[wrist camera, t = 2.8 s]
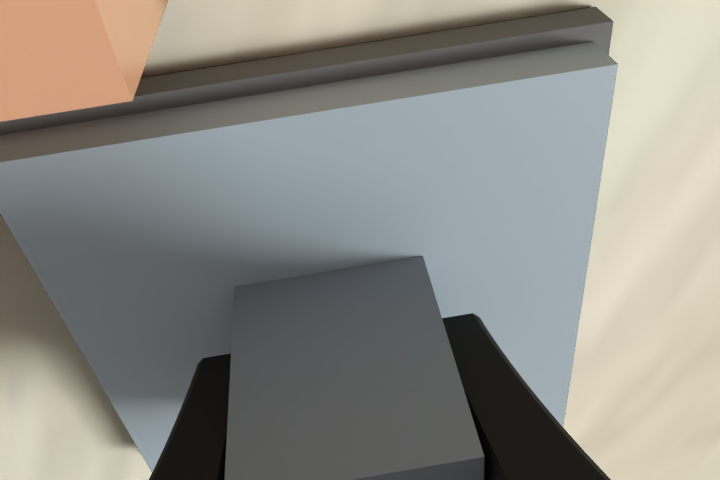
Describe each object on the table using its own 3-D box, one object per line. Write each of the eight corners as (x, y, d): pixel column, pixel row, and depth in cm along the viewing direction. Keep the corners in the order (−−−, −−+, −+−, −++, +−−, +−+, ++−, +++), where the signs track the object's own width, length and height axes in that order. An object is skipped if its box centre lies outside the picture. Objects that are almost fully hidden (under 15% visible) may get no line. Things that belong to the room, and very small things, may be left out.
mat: (549, 389, 15) (558, 410, 15) (169, 454, 15) (166, 477, 14) (595, 7, 9) (613, 20, 9) (-19, 102, 9) (-34, 123, 9)
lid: (548, 405, 14) (638, 616, 11) (174, 469, 14) (145, 703, 11) (593, 41, 9) (796, 229, 6) (-7, 135, 9) (-179, 390, 5)
